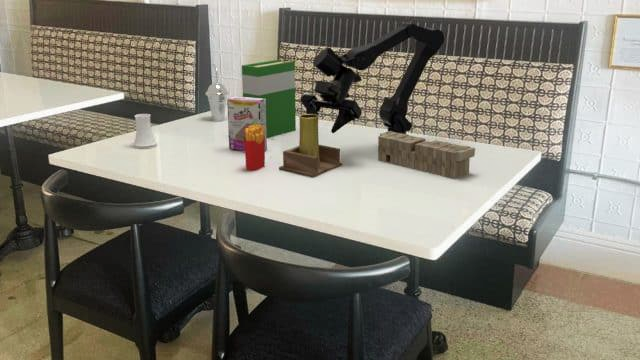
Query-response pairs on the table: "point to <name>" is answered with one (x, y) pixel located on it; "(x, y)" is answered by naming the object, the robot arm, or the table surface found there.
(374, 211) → the table surface
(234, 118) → the candy bar box
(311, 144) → the vase
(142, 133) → the vase
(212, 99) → the cup with straw
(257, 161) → the french fries
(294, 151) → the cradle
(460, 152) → the block tower
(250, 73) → the hardback book
